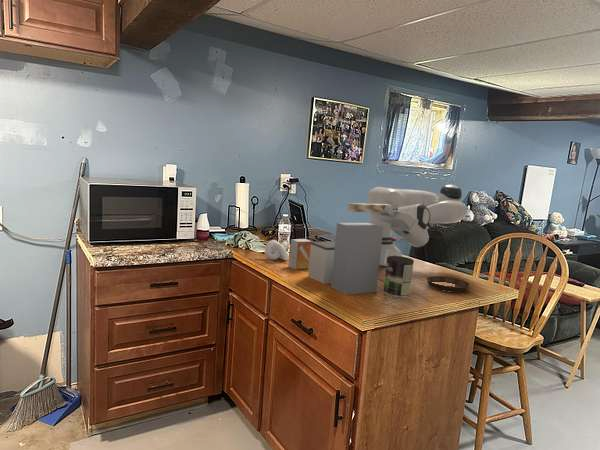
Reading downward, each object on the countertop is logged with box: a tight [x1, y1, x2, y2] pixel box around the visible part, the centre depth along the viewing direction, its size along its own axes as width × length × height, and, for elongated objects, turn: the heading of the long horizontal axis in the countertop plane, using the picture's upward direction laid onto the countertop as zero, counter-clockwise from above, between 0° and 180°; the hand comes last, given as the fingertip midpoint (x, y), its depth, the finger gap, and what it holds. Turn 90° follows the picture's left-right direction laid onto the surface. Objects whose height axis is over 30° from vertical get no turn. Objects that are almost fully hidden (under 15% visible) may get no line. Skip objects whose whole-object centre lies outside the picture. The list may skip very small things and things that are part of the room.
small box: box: [288, 238, 313, 270], centre depth 196 cm, size 8×6×13 cm
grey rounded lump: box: [264, 239, 289, 261], centre depth 210 cm, size 11×12×9 cm
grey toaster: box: [307, 240, 335, 285], centre depth 181 cm, size 18×12×15 cm, turn 120°
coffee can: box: [382, 256, 415, 299], centre depth 166 cm, size 10×10×14 cm
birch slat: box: [347, 202, 392, 213], centre depth 168 cm, size 19×4×3 cm, turn 119°
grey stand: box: [330, 222, 383, 295], centre depth 166 cm, size 15×10×26 cm, turn 120°
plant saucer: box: [426, 275, 471, 293], centre depth 182 cm, size 18×18×3 cm
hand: (380, 206), depth 171 cm, fingers closed on birch slat, 3 cm apart
